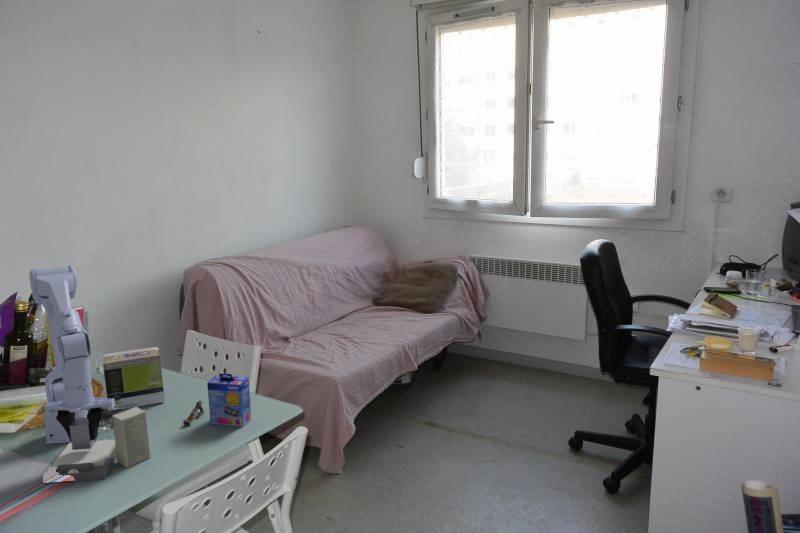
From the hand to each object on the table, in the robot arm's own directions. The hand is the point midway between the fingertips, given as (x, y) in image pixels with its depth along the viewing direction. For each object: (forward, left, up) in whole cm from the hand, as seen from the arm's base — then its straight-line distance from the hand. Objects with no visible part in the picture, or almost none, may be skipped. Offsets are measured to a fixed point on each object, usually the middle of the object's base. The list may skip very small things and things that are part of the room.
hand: (84, 438), depth 139 cm
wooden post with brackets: (+21, +20, -7) cm, 29 cm away
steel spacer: (0, 0, -2) cm, 2 cm away
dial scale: (0, -1, -6) cm, 6 cm away
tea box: (+2, +35, -6) cm, 36 cm away
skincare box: (+11, 0, -6) cm, 12 cm away
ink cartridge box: (+31, +17, -6) cm, 36 cm away
